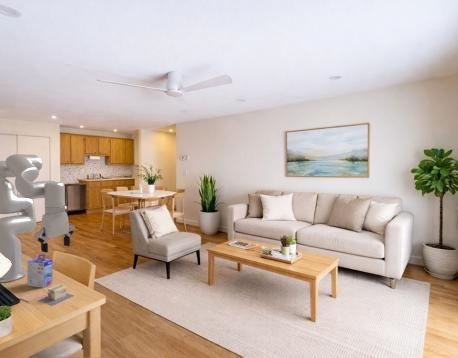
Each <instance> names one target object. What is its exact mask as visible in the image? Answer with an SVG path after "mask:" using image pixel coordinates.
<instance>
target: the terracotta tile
mask: <svg viewBox="0 0 458 358" xmlns="http://www.w3.org/2000/svg"><path fill="white" fill-rule="evenodd" d="M44 297H47V294H46V293H43V292H39V291H37V290H36V291H34V292H31V293H28V294H26V295H23V296H20V297H19V300H22V301H24V302H27V303H31V302H34V301H36V300H40V299H42V298H44Z"/></svg>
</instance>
